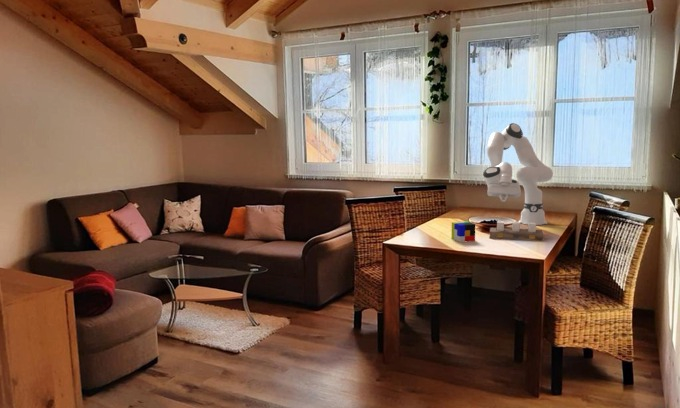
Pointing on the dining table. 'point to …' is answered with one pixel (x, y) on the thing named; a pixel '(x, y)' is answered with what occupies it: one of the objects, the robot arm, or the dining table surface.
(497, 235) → the console
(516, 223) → the plunger middle
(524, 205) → the robot arm
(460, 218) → the dining table surface
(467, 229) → the puzzle toy
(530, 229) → the plunger
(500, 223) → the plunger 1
